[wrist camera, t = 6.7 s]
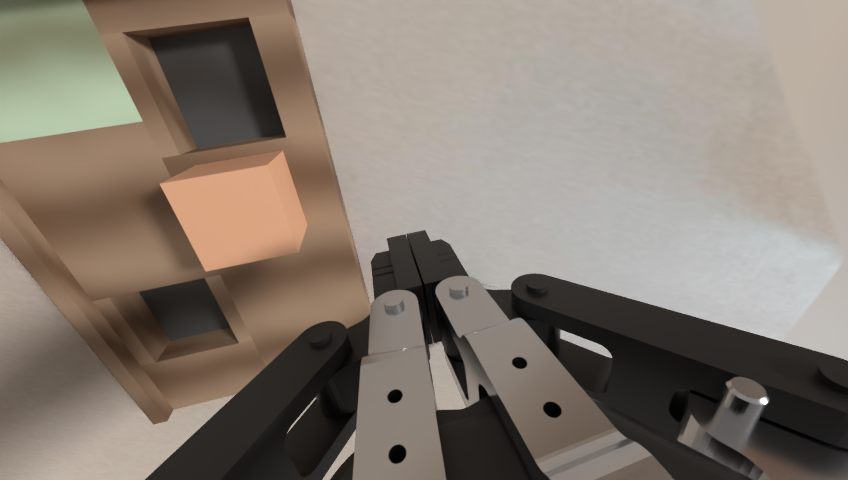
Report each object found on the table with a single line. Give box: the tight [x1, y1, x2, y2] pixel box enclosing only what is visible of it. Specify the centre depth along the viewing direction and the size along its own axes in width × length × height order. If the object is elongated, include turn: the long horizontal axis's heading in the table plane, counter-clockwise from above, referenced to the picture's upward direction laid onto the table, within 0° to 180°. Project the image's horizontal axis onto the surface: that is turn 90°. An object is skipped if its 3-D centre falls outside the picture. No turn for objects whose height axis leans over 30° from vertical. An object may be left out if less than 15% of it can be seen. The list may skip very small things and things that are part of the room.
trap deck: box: [0, 0, 371, 424], centre depth 21 cm, size 28×18×5 cm, turn 8°
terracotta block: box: [160, 151, 307, 271], centre depth 19 cm, size 5×5×4 cm
